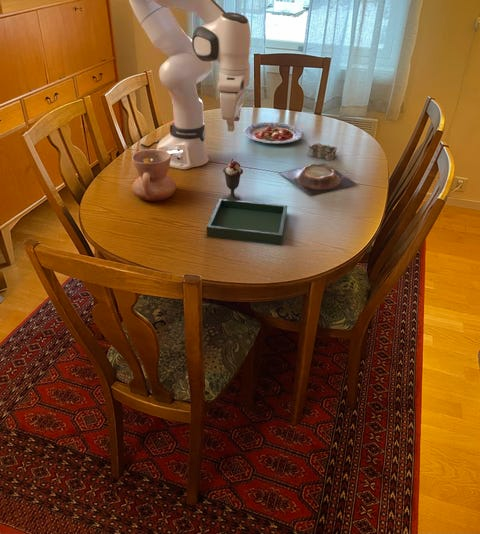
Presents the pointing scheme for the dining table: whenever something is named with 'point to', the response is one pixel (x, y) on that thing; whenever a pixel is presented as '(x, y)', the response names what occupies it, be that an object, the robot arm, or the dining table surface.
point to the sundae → (232, 178)
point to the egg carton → (322, 151)
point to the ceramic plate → (273, 132)
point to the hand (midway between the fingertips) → (233, 125)
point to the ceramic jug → (153, 175)
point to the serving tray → (248, 221)
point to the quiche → (318, 178)
